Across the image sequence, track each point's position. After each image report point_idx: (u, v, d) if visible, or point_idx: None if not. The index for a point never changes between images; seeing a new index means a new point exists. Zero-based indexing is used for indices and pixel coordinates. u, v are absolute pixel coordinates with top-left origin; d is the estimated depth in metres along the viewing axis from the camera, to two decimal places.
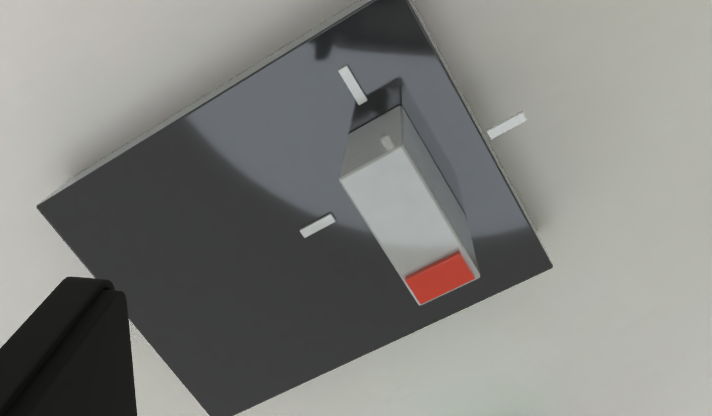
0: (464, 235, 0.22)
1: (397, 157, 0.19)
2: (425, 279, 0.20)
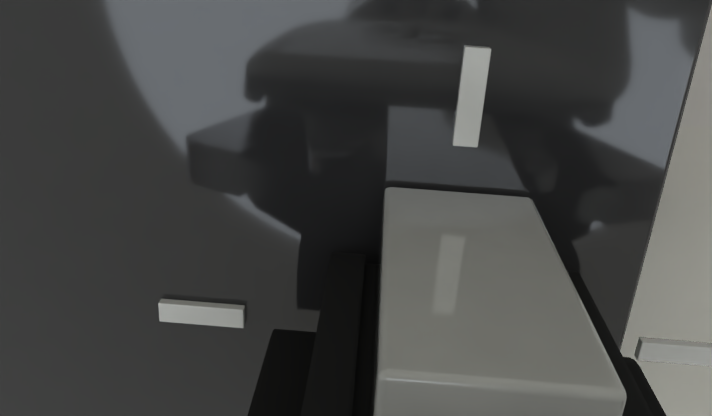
0: None
1: None
2: None
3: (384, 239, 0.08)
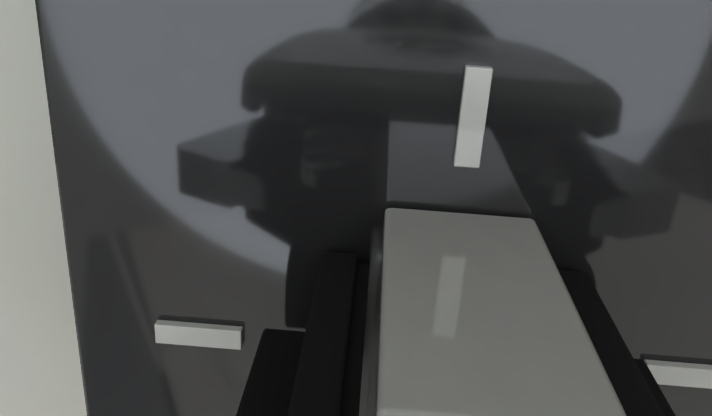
0: None
1: None
2: None
3: (384, 264, 0.08)
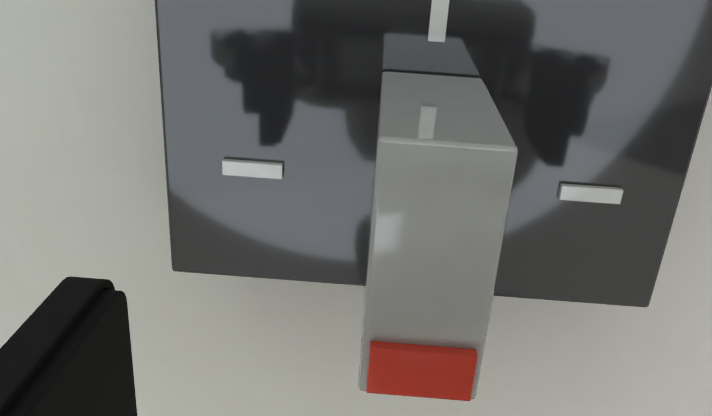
0: None
1: (496, 162, 0.10)
2: (401, 363, 0.12)
3: (381, 93, 0.13)
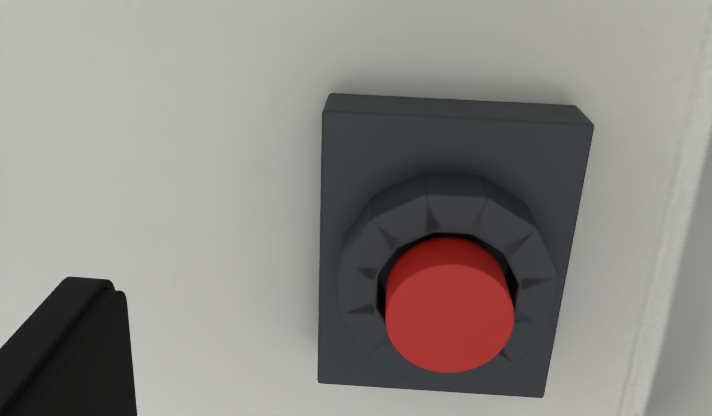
0: None
1: None
2: None
3: None
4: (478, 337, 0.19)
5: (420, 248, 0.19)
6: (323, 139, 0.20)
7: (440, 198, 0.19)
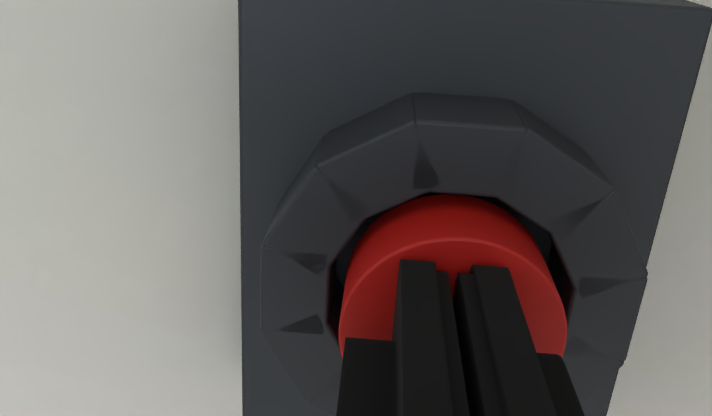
0: None
1: None
2: None
3: None
4: None
5: (403, 212, 0.11)
6: (241, 30, 0.12)
7: (441, 129, 0.10)
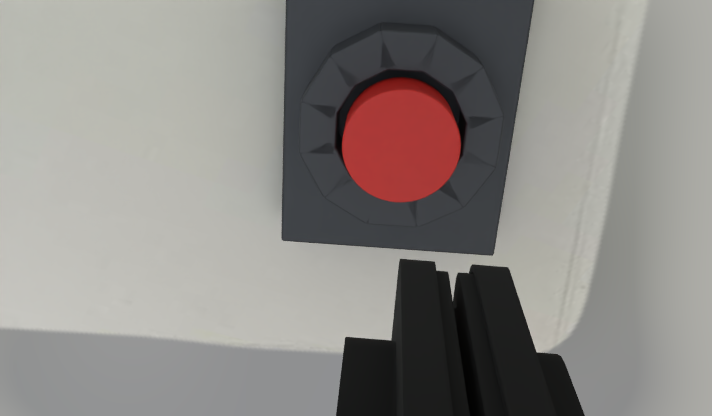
0: None
1: None
2: None
3: None
4: (427, 165, 0.20)
5: (375, 85, 0.21)
6: None
7: (394, 35, 0.20)
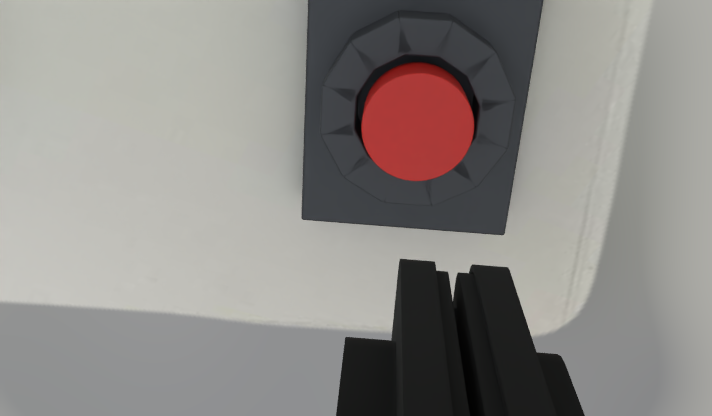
0: None
1: None
2: None
3: None
4: (442, 145, 0.21)
5: (393, 69, 0.22)
6: None
7: (411, 21, 0.21)
